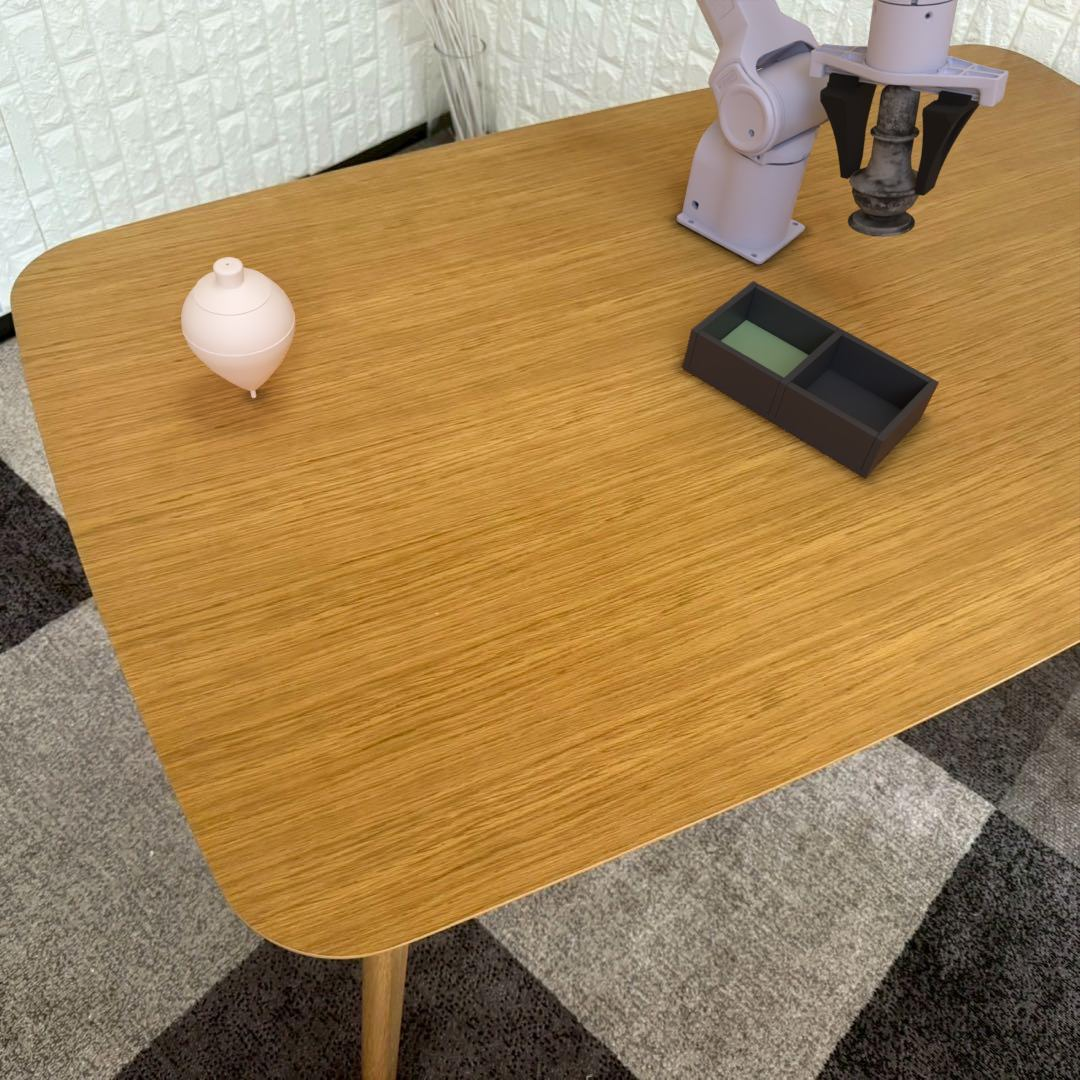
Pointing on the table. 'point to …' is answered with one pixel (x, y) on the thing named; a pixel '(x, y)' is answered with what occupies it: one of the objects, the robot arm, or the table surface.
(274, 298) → the spinning top
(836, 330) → the divided box
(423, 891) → the table surface
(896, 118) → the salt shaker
